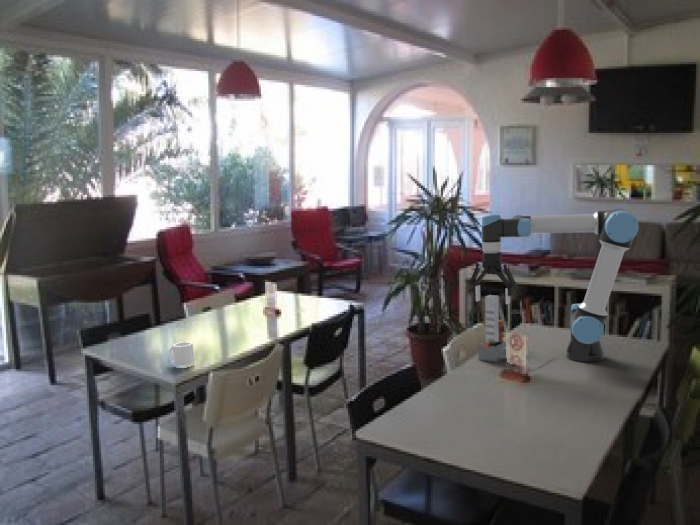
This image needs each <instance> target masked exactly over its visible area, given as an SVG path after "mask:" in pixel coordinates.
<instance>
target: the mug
mask: <svg viewBox="0 0 700 525" xmlns="http://www.w3.org/2000/svg"><path fill="white" fill-rule="evenodd" d="M503 322H504V321H503V320H502V319H499V341H500V342H505V341H504V337H503V336H504V331H505V326H504V325H503V324H504V323H503Z"/></svg>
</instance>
